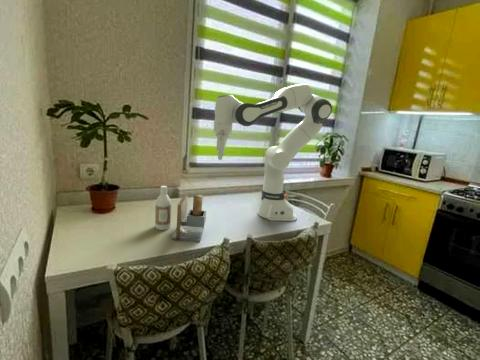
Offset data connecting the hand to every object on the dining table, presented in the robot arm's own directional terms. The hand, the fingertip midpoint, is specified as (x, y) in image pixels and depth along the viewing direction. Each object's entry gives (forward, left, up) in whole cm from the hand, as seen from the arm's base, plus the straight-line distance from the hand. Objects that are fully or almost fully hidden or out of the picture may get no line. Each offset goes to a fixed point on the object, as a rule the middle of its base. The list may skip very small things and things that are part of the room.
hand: (220, 157), depth 138 cm
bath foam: (+24, +14, -33) cm, 43 cm away
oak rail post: (+8, +18, -27) cm, 33 cm away
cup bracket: (+11, +18, -33) cm, 39 cm away
